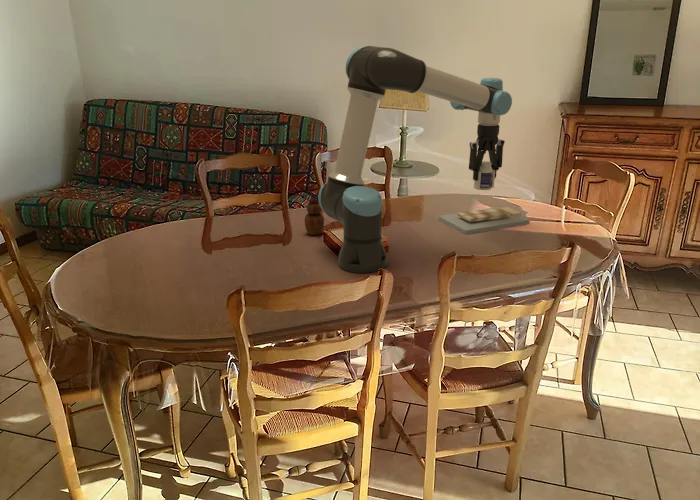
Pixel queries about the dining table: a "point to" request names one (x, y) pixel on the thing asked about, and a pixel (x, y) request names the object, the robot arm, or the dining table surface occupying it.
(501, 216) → the plank
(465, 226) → the floor panel
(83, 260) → the dining table surface
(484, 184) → the pill bottle
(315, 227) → the wooden figurine
